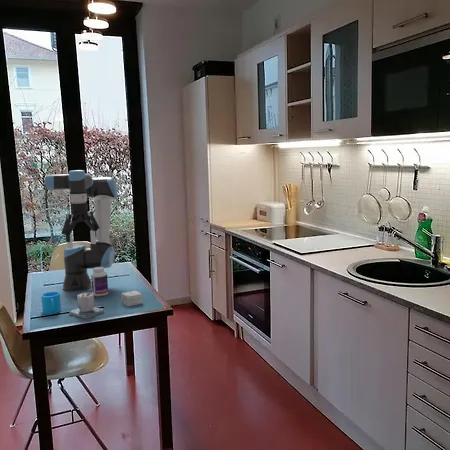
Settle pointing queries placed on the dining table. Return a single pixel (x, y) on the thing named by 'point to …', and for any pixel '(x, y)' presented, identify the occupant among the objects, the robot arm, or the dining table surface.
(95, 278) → the pill bottle
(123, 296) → the small box
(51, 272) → the dining table surface
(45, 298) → the mug
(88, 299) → the tube
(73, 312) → the block
